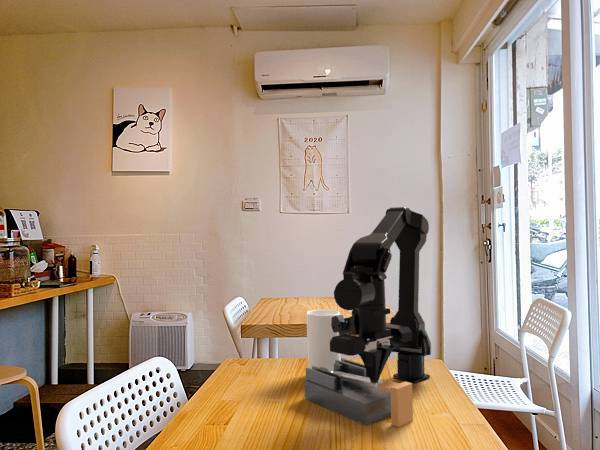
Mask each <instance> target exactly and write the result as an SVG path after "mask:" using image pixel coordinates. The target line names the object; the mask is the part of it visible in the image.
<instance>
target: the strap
mask: <svg viewBox="0 0 600 450" xmlns="http://www.w3.org/2000/svg"><path fill="white" fill-rule="evenodd" d="M330 372H333V373H336V374H339V375H342V376H343V381H348V382H352V383H357V384H361V385H365V386H370V387H374V388H376V387H377V385H378V384H381V383H383V381H384V380H382V379H379V380H378V382H371V381H370V378H368V377H363V376H358V375H354V374H349V373H344V372H339V371H336V370H333V371H330Z"/></svg>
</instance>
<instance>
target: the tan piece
mask: <svg viewBox="0 0 600 450" xmlns="http://www.w3.org/2000/svg"><path fill="white" fill-rule="evenodd" d="M377 388H378V389H381V390H384V391H387V392H390V393H391V417H390V419H391V420H390V422H391V423H390V425H392V426H394V427H396V428H400V427H402V426H404V425H406V424H409V423H411V422H413V421H414V407H413V403H414V402H413V401H414V400H413V383H412V382H409V381H405V380H404V381H402V382H400V383H399V382H396V381H392V380H386V381H384V382H383V383H381V384H378V385H377Z"/></svg>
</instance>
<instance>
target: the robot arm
mask: <svg viewBox="0 0 600 450" xmlns="http://www.w3.org/2000/svg"><path fill="white" fill-rule="evenodd" d="M429 227H430V225H429V221H428V219H427V218H426V216H424V215H423V214H421V213H418V212H415V211H413V210H411V209H410V208H409V207H406V206H398V207H396V206H395V207H390V208H387V209H386V211H385V215H384V216H383V217H382V219H381V220H380V222H379V223H378V224H377V225H376V226H375V228H374V229H373V231H372V232H371V233H370V234H369V235H365V236H362V237H360V238H359V239H357V240H356V241H355V242H354V243H353V244H352V246H351V247H350V250H349V252H348V256H347V259H346V262H345V265H344V268H343V272H342V275H343V276H342V278H343V279H342V280H340V281H339V282H338V283H337V284H336V286H335V288H334V290H333V296H334V297H333V298H334V300H335V303H336V304H337V306H338V307H339V308H341V309H342V310H346V311H351V316H349V317H344V316H343V314H340V315H338V316H334V317H332V321H331V326H332V330H333V332H334V333H336V332H338V333H339V336H334V337H332V339H331V340H330V351H331V352H335V353H340V354H341V355H344V356H351V357H352V356H357V355H358V356H359V357H360V359H361V361H362V364H364V365H365V368H366V371H367V373H368V376H369V378H370V381H371V382H378V380H380V377H381V375H382V373H383V370H384V369H385V366H386V364H387V361H388V360H389V357H390V356H391V354H392V353H397V360H396V364H397V368H396V369H397V370H396V371H397V372H396V373H394V374H393V375H392V377H393V378H396V379H399V380H402V381H404V382H405V381H406V382H409V383H412V384H415V383H418V382H421V381H425V380H427V379H428V378H431V377H430V376H431V375H430V374H428V373H425V357H426V356H431V354H432V342H431V340H430V338H429V337H430V336H429V335H428V333H427V331H426V325H425V323H426V322H425V321H424V319H423V317H422V316H421V313H420V312H419V290H420V289H419V285H420V283H419V282H420V279H419V278H420V251H421V250H422V248H423V247H424V246H425V244H426V242H427V235H428V233H429V230H430V229H429ZM394 243H395V244H396V246H397V248H398V250H399V265H398V266H399V270H398V274H399V275H398V303H397V304H398V307H397V311H396V313H395V314H394V316H393V317H391V319H390V321H389V324H387V315H390V314H391V308H389V307H386V289H385V288H386V287H385V280H387V275H386V272H387V271H388V268H389V265H390V263H391V261H392V252H391V247H392V246H393V244H394Z"/></svg>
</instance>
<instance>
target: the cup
mask: <svg viewBox="0 0 600 450" xmlns="http://www.w3.org/2000/svg"><path fill="white" fill-rule="evenodd" d="M338 315H341V313H340V311H339V310H336V309H335V310H334V309H325V308H322V309H311V310H308V311H307V312H306V340H307V341H306V345H307V346H306V347H307V348H306V349H307V368H310V369H312V366H315V367H318V368H320V367H323V368H326V369H328V371H333V370H334V363H335V360H340V361H341V356H342V354H340V353H335V352H331V351H330V340H331V339H332V337H334V336H339V333H338V332H336V333H334V332H333V330H332V326H331V321H332V317H334V316H338Z"/></svg>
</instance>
